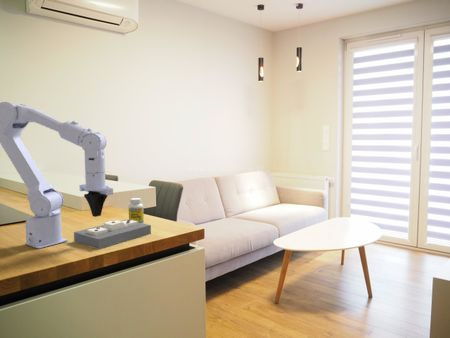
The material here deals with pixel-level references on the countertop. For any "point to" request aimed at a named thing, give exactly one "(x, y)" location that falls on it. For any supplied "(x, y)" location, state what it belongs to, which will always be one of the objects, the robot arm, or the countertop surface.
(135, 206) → the supplement bottle
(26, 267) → the countertop surface
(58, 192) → the robot arm
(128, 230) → the button board
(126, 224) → the tile three
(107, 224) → the tile one
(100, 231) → the tile two
